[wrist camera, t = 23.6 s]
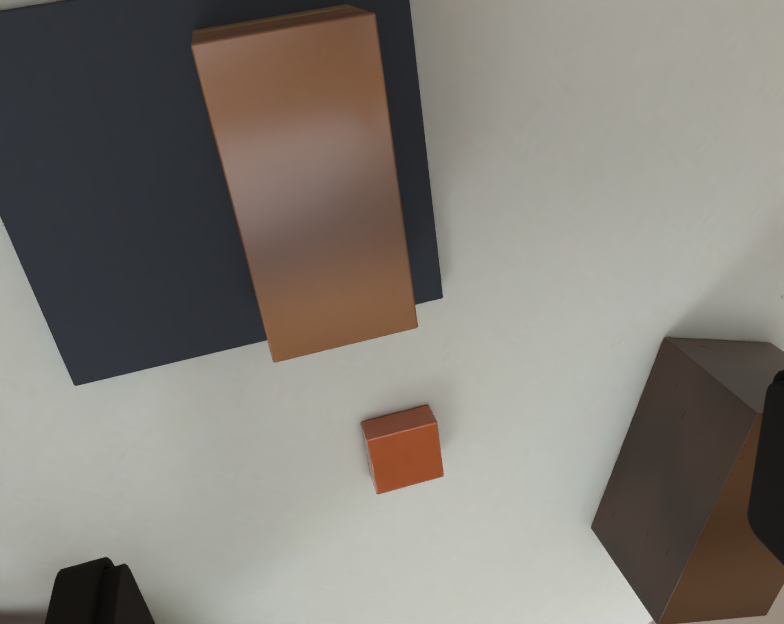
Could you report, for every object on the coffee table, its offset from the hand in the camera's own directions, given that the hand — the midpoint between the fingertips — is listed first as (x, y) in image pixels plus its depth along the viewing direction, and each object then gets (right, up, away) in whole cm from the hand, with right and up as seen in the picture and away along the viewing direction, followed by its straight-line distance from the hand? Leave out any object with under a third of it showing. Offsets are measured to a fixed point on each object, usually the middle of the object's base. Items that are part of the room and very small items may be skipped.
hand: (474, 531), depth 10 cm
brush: (-5, +9, +17) cm, 20 cm away
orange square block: (-1, -3, +25) cm, 25 cm away
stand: (+15, -4, +30) cm, 34 cm away
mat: (-8, +8, +17) cm, 21 cm away
